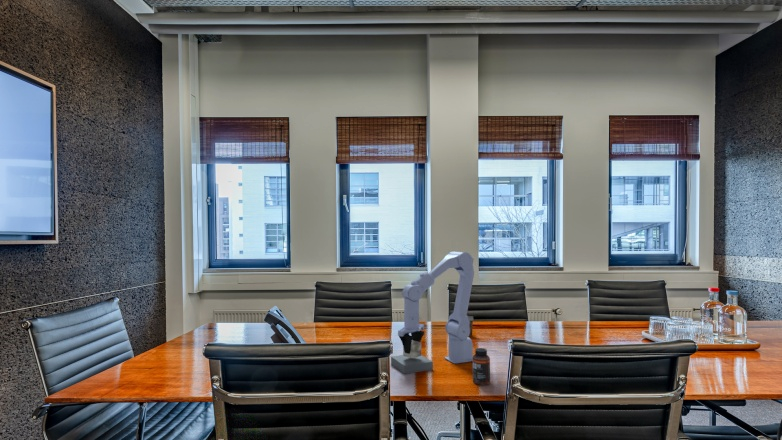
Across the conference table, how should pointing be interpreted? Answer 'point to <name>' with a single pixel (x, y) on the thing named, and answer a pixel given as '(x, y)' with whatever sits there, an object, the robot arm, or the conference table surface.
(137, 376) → the conference table surface
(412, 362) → the blue-gray box
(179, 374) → the conference table surface
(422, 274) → the robot arm
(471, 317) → the food container
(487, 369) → the supplement bottle
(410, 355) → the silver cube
